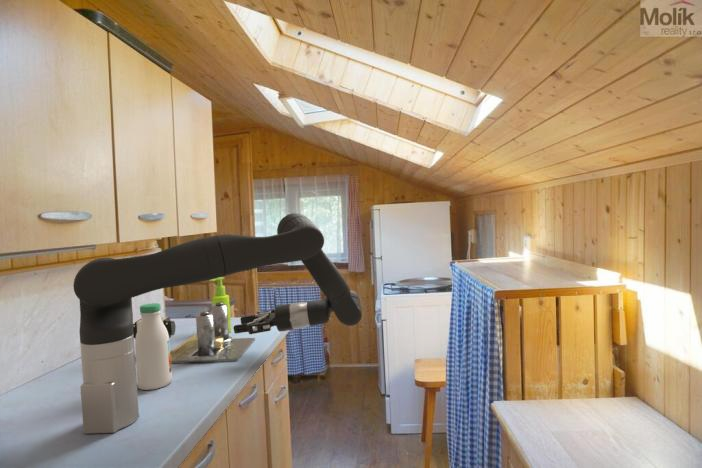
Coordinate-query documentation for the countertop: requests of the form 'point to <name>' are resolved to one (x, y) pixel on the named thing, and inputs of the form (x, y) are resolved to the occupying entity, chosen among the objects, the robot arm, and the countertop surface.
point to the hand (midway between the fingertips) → (237, 325)
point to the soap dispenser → (221, 297)
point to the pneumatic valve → (166, 321)
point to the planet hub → (205, 334)
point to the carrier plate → (223, 332)
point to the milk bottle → (152, 350)
